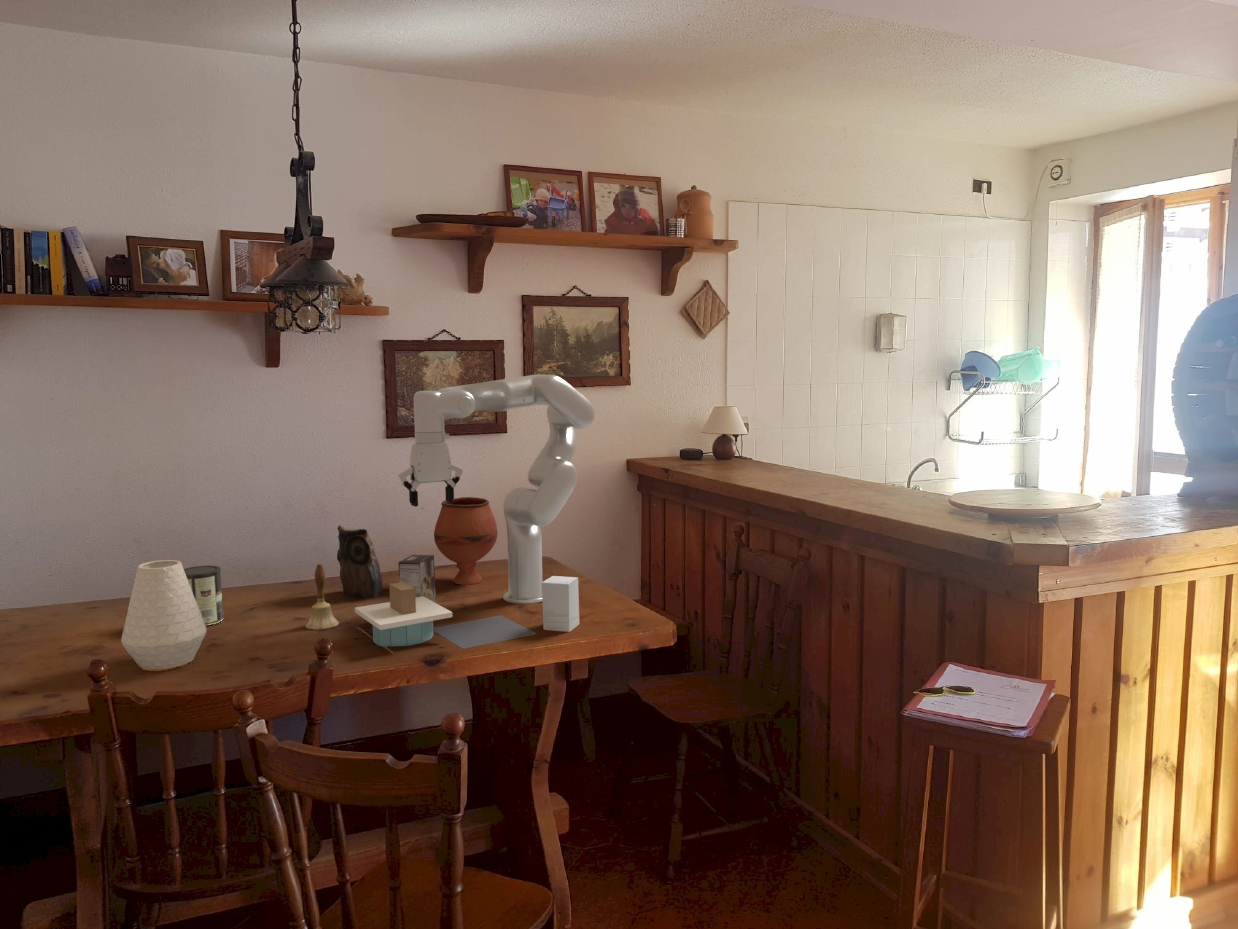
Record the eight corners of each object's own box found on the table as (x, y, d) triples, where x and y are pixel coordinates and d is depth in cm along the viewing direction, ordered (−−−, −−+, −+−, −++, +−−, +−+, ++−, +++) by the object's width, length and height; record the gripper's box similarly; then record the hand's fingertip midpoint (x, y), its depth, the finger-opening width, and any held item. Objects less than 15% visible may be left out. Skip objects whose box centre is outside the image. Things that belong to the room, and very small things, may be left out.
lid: (423, 601, 243) (422, 573, 242) (452, 617, 228) (451, 588, 227) (354, 612, 233) (353, 583, 232) (380, 630, 218) (379, 599, 217)
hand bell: (301, 624, 244) (297, 564, 242) (332, 619, 249) (329, 559, 247) (311, 632, 237) (308, 570, 235) (343, 626, 242) (341, 565, 240)
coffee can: (204, 615, 253) (201, 563, 251) (232, 619, 249) (229, 567, 247) (171, 625, 244) (168, 572, 242) (200, 630, 239) (197, 576, 238)
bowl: (419, 626, 241) (418, 604, 240) (441, 640, 229) (440, 616, 228) (366, 636, 233) (365, 612, 232) (386, 651, 221) (385, 626, 221)
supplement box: (580, 625, 241) (579, 577, 239) (569, 633, 234) (568, 584, 232) (553, 622, 243) (552, 575, 242) (542, 631, 236) (541, 581, 235)
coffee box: (414, 612, 254) (412, 554, 252) (436, 613, 253) (434, 554, 251) (400, 622, 245) (397, 561, 243) (423, 623, 244) (421, 562, 242)
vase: (216, 666, 212) (209, 565, 209) (130, 682, 202) (122, 577, 199) (199, 646, 226) (193, 552, 224) (118, 660, 216) (110, 562, 214)
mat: (500, 616, 249) (500, 615, 249) (537, 635, 232) (537, 633, 232) (429, 629, 238) (429, 628, 238) (462, 650, 221) (462, 649, 221)
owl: (376, 599, 268) (373, 530, 265) (331, 600, 267) (328, 531, 264) (384, 587, 280) (381, 521, 278) (341, 589, 279) (338, 522, 277)
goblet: (442, 592, 275) (439, 507, 271) (430, 577, 292) (427, 498, 289) (506, 585, 281) (504, 503, 278) (490, 571, 299) (488, 494, 296)
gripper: (454, 435, 251) (456, 498, 254) (392, 439, 242) (395, 505, 244) (466, 437, 245) (468, 502, 247) (403, 441, 236) (405, 509, 238)
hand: (432, 503), depth 246 cm, fingers open, 9 cm apart
